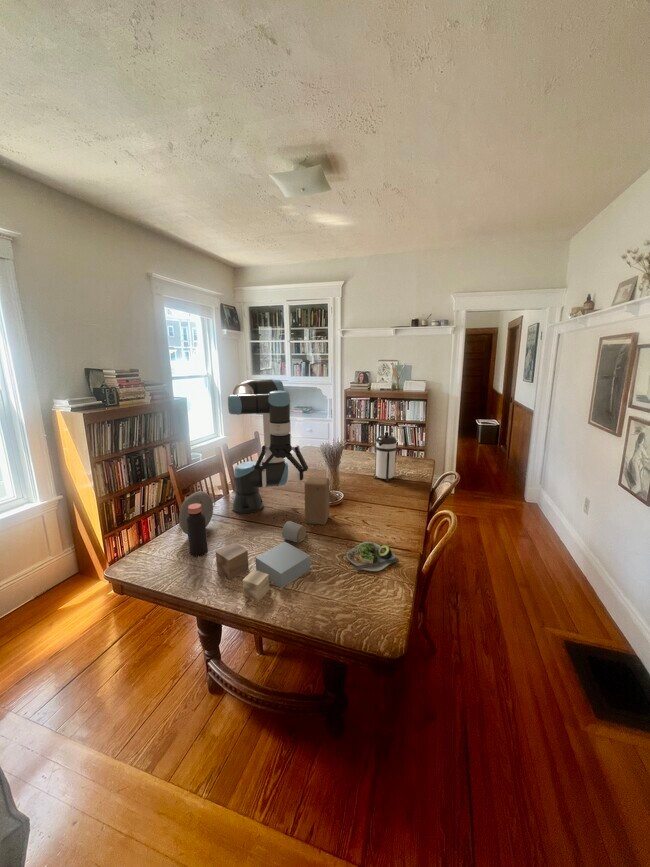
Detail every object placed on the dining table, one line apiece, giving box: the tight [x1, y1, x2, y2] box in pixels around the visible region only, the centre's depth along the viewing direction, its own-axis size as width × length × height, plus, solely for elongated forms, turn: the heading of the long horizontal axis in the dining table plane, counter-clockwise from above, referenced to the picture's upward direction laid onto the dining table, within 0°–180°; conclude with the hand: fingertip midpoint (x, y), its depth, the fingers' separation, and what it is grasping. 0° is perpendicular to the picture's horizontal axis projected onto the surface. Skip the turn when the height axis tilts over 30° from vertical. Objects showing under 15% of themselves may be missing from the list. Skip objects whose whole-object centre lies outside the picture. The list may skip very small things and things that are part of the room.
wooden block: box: [304, 476, 330, 526], centre depth 160 cm, size 10×10×20 cm
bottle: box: [186, 503, 209, 558], centre depth 133 cm, size 7×7×20 cm
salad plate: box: [346, 541, 400, 572], centre depth 130 cm, size 19×18×5 cm
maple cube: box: [242, 569, 270, 602], centre depth 112 cm, size 6×6×6 cm
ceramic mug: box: [281, 520, 307, 544], centre depth 145 cm, size 11×8×8 cm
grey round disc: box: [178, 490, 214, 536], centre depth 148 cm, size 18×7×19 cm, turn 156°
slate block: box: [255, 541, 311, 589], centre depth 124 cm, size 14×14×6 cm
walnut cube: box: [215, 542, 250, 581], centre depth 124 cm, size 8×8×8 cm
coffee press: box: [372, 431, 398, 483], centre depth 213 cm, size 17×16×30 cm
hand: (281, 487), depth 130 cm, fingers open, 13 cm apart
